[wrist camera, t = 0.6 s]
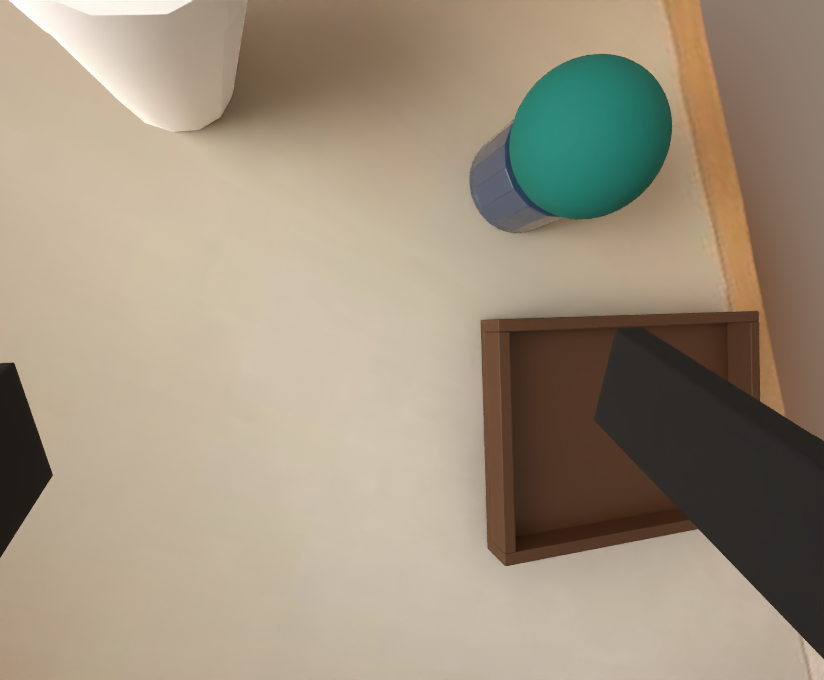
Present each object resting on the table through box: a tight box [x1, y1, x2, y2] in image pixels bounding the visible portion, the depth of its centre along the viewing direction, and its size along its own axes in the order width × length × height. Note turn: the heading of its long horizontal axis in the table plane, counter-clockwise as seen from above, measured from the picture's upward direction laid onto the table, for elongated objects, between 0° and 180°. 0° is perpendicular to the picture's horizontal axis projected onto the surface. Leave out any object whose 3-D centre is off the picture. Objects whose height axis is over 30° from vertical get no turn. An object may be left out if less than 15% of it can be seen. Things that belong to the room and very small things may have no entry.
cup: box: [470, 119, 564, 233], centre depth 31 cm, size 7×7×5 cm
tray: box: [481, 311, 760, 566], centre depth 35 cm, size 16×22×3 cm
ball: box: [509, 54, 672, 219], centre depth 26 cm, size 8×8×8 cm
